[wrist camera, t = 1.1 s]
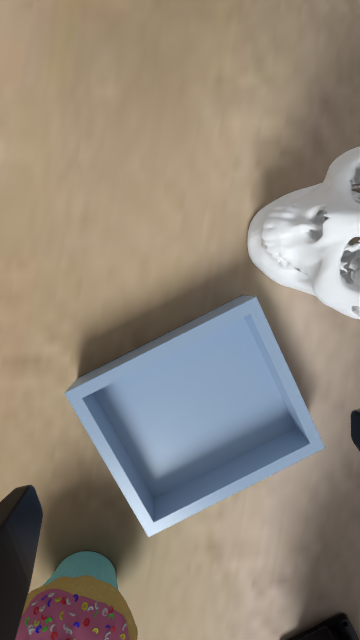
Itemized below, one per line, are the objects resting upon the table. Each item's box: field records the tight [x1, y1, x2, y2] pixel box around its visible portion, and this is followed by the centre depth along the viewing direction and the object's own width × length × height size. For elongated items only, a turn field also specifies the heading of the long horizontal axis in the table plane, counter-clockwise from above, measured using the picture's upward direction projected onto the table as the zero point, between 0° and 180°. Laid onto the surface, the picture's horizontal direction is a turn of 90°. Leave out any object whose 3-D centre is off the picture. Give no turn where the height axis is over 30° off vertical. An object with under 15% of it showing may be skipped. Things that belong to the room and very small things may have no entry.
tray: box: [65, 295, 325, 537], centre depth 22 cm, size 12×14×3 cm
